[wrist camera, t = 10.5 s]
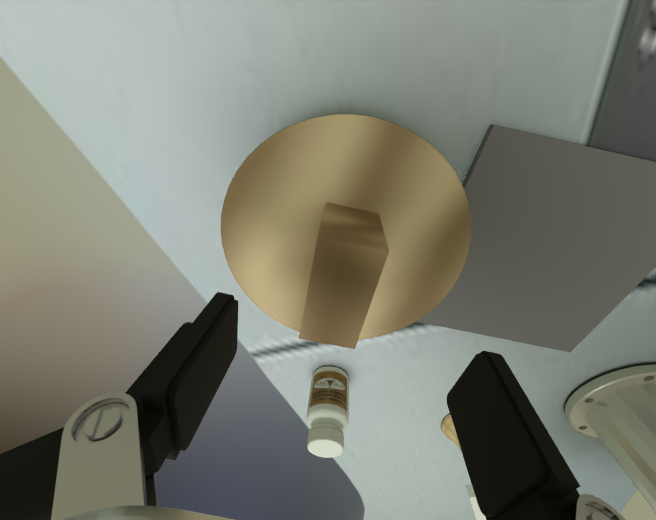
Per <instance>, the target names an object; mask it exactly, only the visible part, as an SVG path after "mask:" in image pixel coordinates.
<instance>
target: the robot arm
mask: <svg viewBox="0 0 656 520" xmlns="http://www.w3.org/2000/svg"><path fill="white" fill-rule="evenodd" d="M237 327H238V300H234V296H233V295H229V294H225V293H220V292H218V293H216V294H215V296H214V297H213V298H212V299H211V301H210V302H209V303H208V304H207V306H206V307H205V308H204V309H203V311H202V312H201V313H200V314H199V316H198V317H197V318H196V320H195V321H194V322H193V323H190V322H187V323H185V324H183V325H182V326H181V327H180V328H179V330H178V331H177V332H176V333H175V334H174V336H173V337H172V338H171V339H170V340H169V342H168V343H167V344H166V345H165V346H164V348H163V349H162V350H161V351H160V352H159V353H158V355H157V356H156V357H155V358H154V359H153V361H152V362H151V363H150V364H149V365H148V367H147V368H146V369H145V370H144V371H143V373H142V374H141V375H140V376H139V377H138V379H137V380H136V381H135V382H134V383H133V385H132V386H131V387H130V388H129V389H128V391H127V392H126V393H110V394H105V395H101V396H99V397H97V398H95V399H92V400H91V401H89V402H88V403H86V404H84V405H83V406H82V407H80V408H79V409H78V410H77V411H76V412H75V413H74V414H73V415H72V416H71V417H70V419H69V420H68V422H67V423H66V425H65V427H64V428H61V429H59V430H57V431H54V432H52V433H49V434H47V435H45V436H42V437H40V438H37V439H35V440H33V441H30V442H28V443H26V444H23V445H21V446H18V447H16V448H14V449H11V450H9V451H7V452H4V453H2V454H0V520H234V519H229V518H223V517H218V516H212V515H208V514H202V513H197V512H191V511H186V510H181V509H172V508H165V507H159V506H158V497H157V487H156V477H155V473H156V472H157V471H159V469H160V467H161V466H162V464H163V462H164V460H165V459H166V458H167V459H172V460H176V458H177V456H178V454H179V452H180V450H183V451H185V450H186V449H187V447H188V446H189V444H190V442H191V440H192V438H193V436H194V435H195V433H196V431H197V429H198V427H199V425H200V423H201V421H202V419H203V417H204V415H205V413H206V411H207V409H208V407H209V405H210V403H211V401H212V399H213V397H214V396H215V394H216V392H217V389H218V388H219V386H220V384H221V382H222V380H223V378H224V376H225V374H226V372H227V370H228V368H229V366H230V364H231V362H232V360H233V359H234V356H235V354H236V350H237ZM447 405H448V408H449V411H450V414H451V418H452V421H453V424H454V428H455V431H456V434H457V437H458V441H459V444H460V447H461V450H462V454H463V457H464V460H465V463H466V467H467V470H468V473H469V476H470V480H471V483H472V486H473V490H474V493H475V496H476V499H477V503H478V506H479V508H480V511H481V512H482V514H483V515H485V517H486V520H625V519H624V518H623V516H622V515H621V514H619V513H618V512H617V511H616V510H615V509H614V508H613V507H612V506H610V505H609V504H607V503H606V502H604V501H603V500H602V499H600V498H598V497H595V496H593V495H589V494H583V495H581V496H580V495H579V493H578V491H577V490H576V488H578V487H580V485H579V483H578V482H577V480H576V478H575V477H574V475H573V473H572V472H571V470H570V468H569V467H568V465H567V463H566V462H565V460H564V458H563V457H562V455H561V453H560V452H559V450H558V448H557V447H556V445H555V443H554V442H553V440H552V438H551V437H550V435H549V433H548V431H547V430H546V428H545V426H544V425H543V423H542V421H541V420H540V418H539V416H538V415H537V413H536V411H535V410H534V408H533V406H532V405H531V403H530V401H529V400H528V398H527V396H526V395H525V393H524V391H523V390H522V388H521V386H520V385H519V383H518V381H517V379H516V378H515V376H514V374H513V373H512V371H511V369H510V368H509V366H508V364H507V363H506V361H505V359H504V358H503V357H502V355H500V354H496V353H492V352H487V351H482V352H481V353H480V354H477V355H476V356H475V357H474V358H473V360H472V361H471V362H470V364H469V365H468V367H467V368H466V369H465V371H464V372H463V374H462V375H461V376H460V378H459V379H458V381H457V382H456V383H455V385H454V386H453V388H452V389H451V390H450V392H449V393H448V395H447ZM565 415H566V417H567V419H568V420H569V422H570V423H571V425H572V426H573V427H574V428H575V429H576V430H577V431H579V432H581V433H582V434H585V435H588V436H591V437H595V438H599V439H600V440H601V441H602V443H603V444H604V445H605V447H606V448H607V449H608V451H609V452H610V453H611V455H612V456H613V457H614V458H615V460H616V461H617V462H618V464H619V465H620V466H621V468H622V469H623V470H624V472H625V473H626V474H627V476H628V477H629V478H630V480H631V481H632V482H633V484H634V485H635V486H636V488H637V489H638V490H639V492H640V493H641V494H642V496H643V497H644V498H645V500H646V501H647V502H648V503H649V505H650V506H651V507H652V509H653V510H654V511H655V513H656V364H653V365H641V366H634V367H629V368H625V369H621V370H617V371H614V372H611V373H608V374H605V375H602V376H600V377H598V378H596V379H594V380H592V381H590V382H588V383H587V384H585V385H583V386H582V387H580V388H579V389H578V390H577V391H575V392H574V393H573V395H572V396H571V397H570V398H569V399H568V401H567V403H566V405H565Z"/></svg>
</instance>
